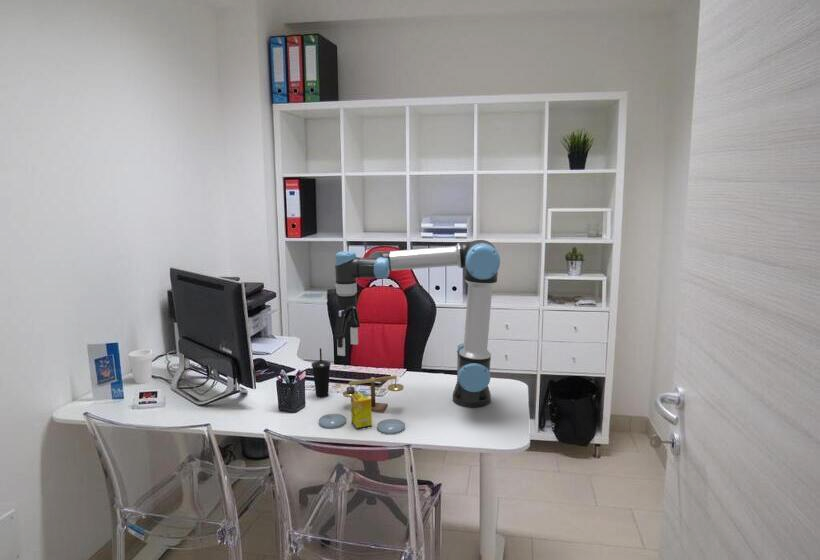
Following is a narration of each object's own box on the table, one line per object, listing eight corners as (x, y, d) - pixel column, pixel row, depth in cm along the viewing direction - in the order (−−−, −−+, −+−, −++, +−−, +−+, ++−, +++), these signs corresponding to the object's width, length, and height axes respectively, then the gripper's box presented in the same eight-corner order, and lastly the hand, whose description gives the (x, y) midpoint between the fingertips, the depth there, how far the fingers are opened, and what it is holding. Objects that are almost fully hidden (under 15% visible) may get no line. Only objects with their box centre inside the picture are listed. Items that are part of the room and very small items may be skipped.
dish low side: (350, 418, 215) (350, 414, 214) (341, 429, 205) (340, 426, 205) (324, 415, 217) (324, 412, 217) (314, 427, 207) (314, 424, 207)
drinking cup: (328, 399, 231) (326, 352, 227) (310, 398, 233) (307, 350, 229) (334, 392, 239) (332, 346, 235) (316, 391, 240) (314, 345, 236)
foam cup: (127, 381, 252) (124, 353, 250) (148, 375, 259) (146, 348, 257) (137, 387, 246) (134, 357, 244) (159, 380, 253) (156, 352, 251)
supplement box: (351, 423, 210) (350, 395, 208) (366, 420, 212) (366, 392, 210) (356, 430, 205) (355, 401, 203) (372, 427, 207) (371, 398, 205)
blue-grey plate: (407, 423, 210) (407, 420, 210) (401, 435, 200) (401, 432, 200) (381, 420, 212) (381, 417, 212) (373, 433, 202) (373, 429, 202)
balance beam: (405, 395, 222) (405, 373, 220) (401, 401, 216) (401, 379, 215) (345, 390, 227) (345, 369, 226) (340, 396, 222) (340, 374, 220)
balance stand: (387, 406, 225) (387, 379, 222) (383, 412, 219) (383, 384, 217) (363, 404, 227) (362, 377, 225) (358, 410, 221) (357, 382, 219)
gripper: (348, 286, 224) (350, 339, 228) (323, 301, 201) (325, 359, 205) (367, 287, 222) (368, 340, 226) (343, 302, 199) (345, 361, 203)
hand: (348, 349), depth 216 cm, fingers open, 13 cm apart
